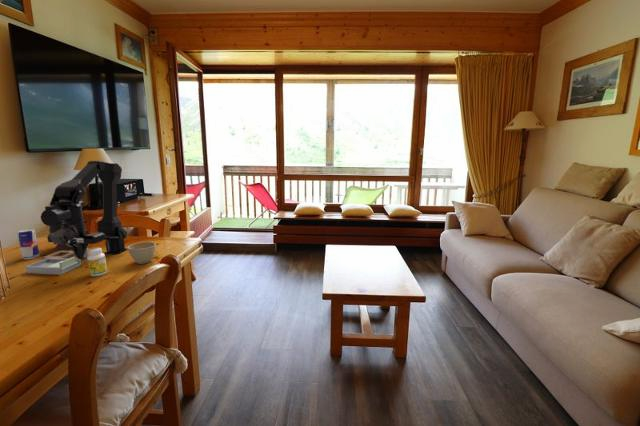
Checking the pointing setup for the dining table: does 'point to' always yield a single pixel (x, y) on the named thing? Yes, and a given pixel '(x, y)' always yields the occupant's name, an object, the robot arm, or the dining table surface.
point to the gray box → (43, 268)
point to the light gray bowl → (142, 251)
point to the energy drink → (28, 244)
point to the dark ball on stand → (59, 246)
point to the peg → (85, 254)
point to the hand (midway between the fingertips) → (80, 258)
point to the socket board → (61, 255)
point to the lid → (65, 263)
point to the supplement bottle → (96, 262)
